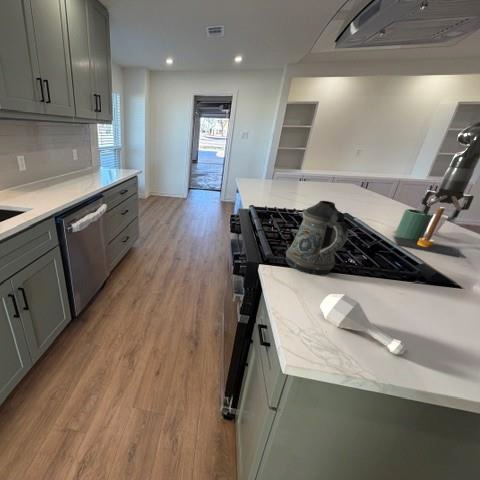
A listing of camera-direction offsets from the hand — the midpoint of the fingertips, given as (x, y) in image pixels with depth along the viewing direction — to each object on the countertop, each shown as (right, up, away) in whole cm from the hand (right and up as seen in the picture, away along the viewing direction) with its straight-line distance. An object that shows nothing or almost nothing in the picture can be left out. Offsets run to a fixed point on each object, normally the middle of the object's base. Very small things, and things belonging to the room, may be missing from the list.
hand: (438, 216), depth 111 cm
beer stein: (-64, -21, -14) cm, 69 cm away
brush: (0, -13, +6) cm, 14 cm away
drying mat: (0, -13, +6) cm, 15 cm away
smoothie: (+21, -7, +23) cm, 32 cm away
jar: (+3, -9, +17) cm, 19 cm away
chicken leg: (-72, -34, -46) cm, 92 cm away
